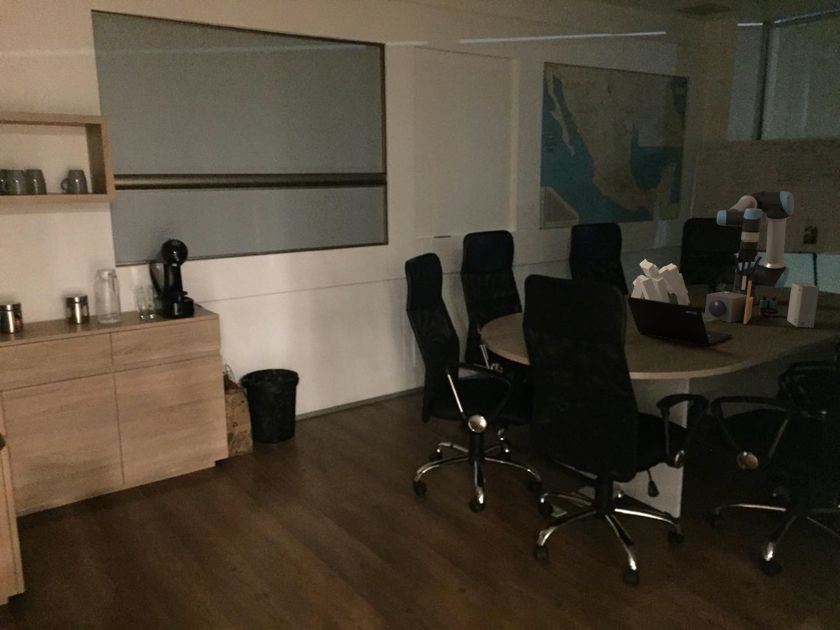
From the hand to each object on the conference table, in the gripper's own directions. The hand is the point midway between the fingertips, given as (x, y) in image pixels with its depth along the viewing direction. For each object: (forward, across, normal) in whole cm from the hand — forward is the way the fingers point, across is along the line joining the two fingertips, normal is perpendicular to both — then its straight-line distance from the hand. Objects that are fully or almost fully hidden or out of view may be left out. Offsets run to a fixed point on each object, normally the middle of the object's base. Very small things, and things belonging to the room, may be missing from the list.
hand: (743, 289), depth 325 cm
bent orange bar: (+17, +3, +6) cm, 18 cm away
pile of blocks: (+18, -41, +14) cm, 47 cm away
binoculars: (+17, +11, +26) cm, 33 cm away
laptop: (+18, -20, -48) cm, 55 cm away
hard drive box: (+17, +26, +15) cm, 34 cm away
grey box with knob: (+17, -7, +10) cm, 21 cm away
